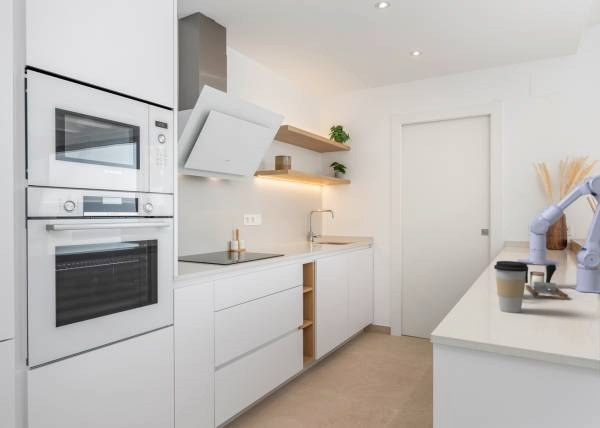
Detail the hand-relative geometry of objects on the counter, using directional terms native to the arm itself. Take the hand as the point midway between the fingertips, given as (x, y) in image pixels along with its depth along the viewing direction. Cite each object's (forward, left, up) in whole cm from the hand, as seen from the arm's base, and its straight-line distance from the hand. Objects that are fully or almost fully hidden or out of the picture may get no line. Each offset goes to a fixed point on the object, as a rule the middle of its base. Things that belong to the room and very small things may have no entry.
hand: (536, 283), depth 162 cm
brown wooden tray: (0, +13, -2) cm, 13 cm away
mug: (+14, +25, -2) cm, 29 cm away
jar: (0, 0, -2) cm, 2 cm away
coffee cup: (+17, +43, -2) cm, 46 cm away
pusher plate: (0, +15, -1) cm, 15 cm away
